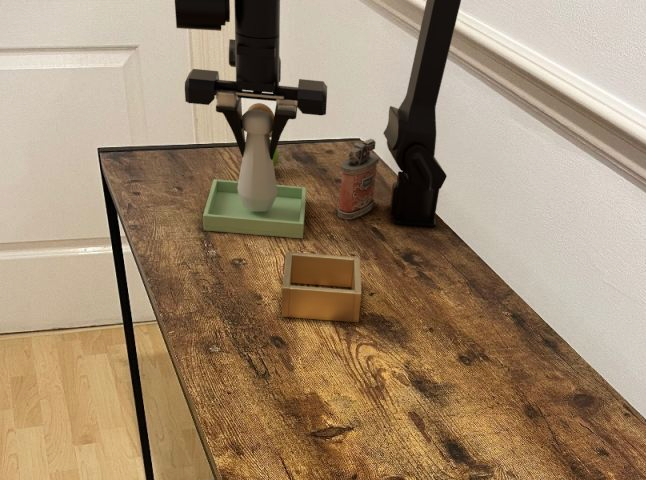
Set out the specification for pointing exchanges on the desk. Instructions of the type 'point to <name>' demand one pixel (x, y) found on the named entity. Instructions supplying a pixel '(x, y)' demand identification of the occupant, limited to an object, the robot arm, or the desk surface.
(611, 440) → the desk surface
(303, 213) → the tray
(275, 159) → the snail figurine
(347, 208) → the lighter
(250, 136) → the salt shaker
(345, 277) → the open brown box
